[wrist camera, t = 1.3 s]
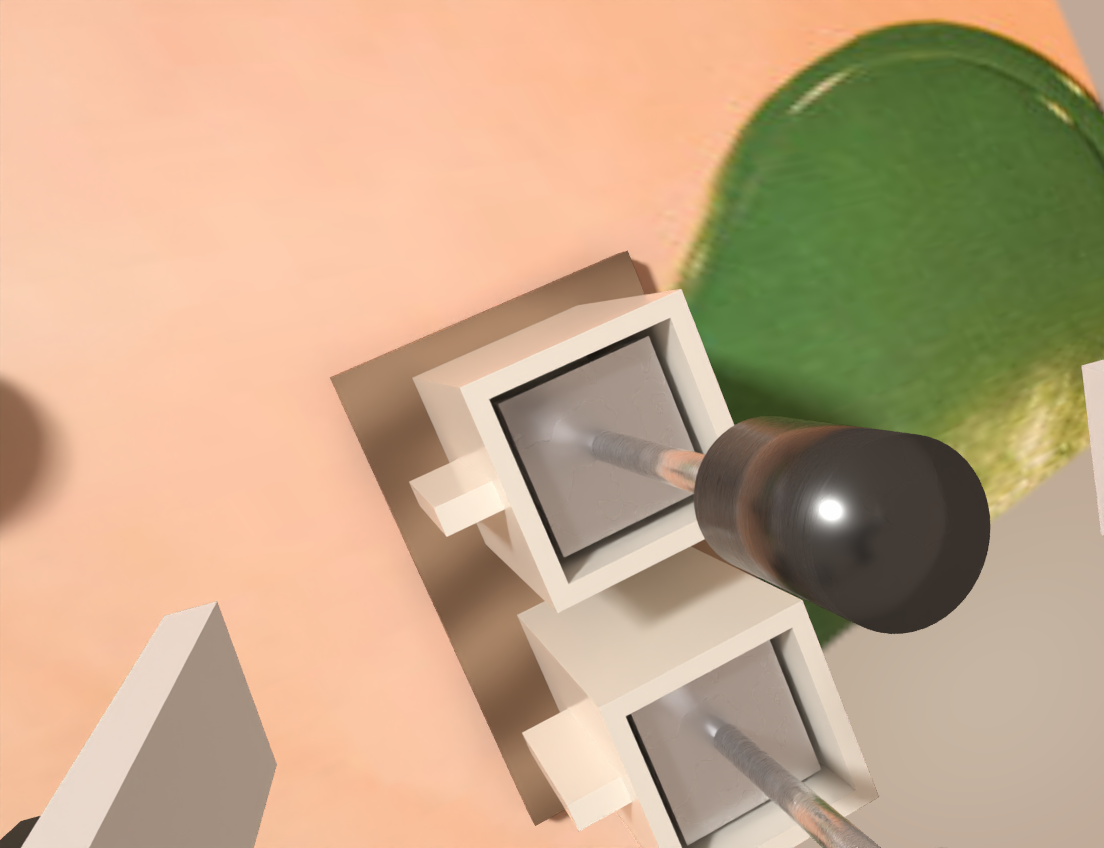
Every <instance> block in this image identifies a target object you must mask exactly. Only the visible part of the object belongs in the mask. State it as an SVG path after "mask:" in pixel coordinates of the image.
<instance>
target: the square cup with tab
mask: <svg viewBox="0 0 1104 848" xmlns="http://www.w3.org/2000/svg"><path fill="white" fill-rule="evenodd" d="M517 616H518V619H519V621H520V623H521V625H522V628H523V630H524V632H525V634H526V637H527V639H528V641H529V643H530V646H531V648H532V650H533V653H534V655H535V657H536V659H537V662H538V664H539V666H540V668H541V671H542V673H543V675H544V677H545V680H546V682H547V684H548V686H549V689H550V691H551V693H552V696H553V698H554V700H555V702H556V705H557V707H558V709H559V711H560V713H559V714H557V715H555V716H553V717H551V718H549V719H547V720H545V721H543V722H541V723H539V724H538V725H536V726H534V727H532V728H530V729H528V730H526V731H524V732H522V734H523V736H524V739H525V741H526V743H527V745H528V747H529V750H530V752H531V754H532V756H533V758H534V759H535V761H536V762H537V764H538V766H539V767H540V769H541V771H542V772H543V774H544V776H545V777H546V779H547V780H548V782H549V784H550V785H551V787H552V789H553V790H554V792H555V794H556V795H557V797H558V798H559V800H560V802H561V803H562V805H563V807H564V808H565V810H566V812H567V813H568V815H569V816H570V818H571V820H572V821H573V823H574V825H575V826H576V828H577V830H578V831H581V830H582V829H584V828H586V827H588V826H590V825H591V824H593V823H595V822H597V821H599V820H600V819H602V818H604V817H606V816H608V815H609V814H611V813H613V812H615V811H616V813H617V814H618V815H619V817H620V818H621V820H622V821H623V822H624V824H625V825H626V827H627V828H628V829H629V831H630V832H631V834H632V835H633V836H634V838H635V839H636V841H637V842H638V843H639V845H640V846H641V847H642V848H793V847H795V846H796V845H798V844H800V843H801V842H803V841H805V840H806V839H808V838H810V837H811V836H809V835H808V834H807V833H806V832H805V831H804V830H803V829H802V828H801V827H800V826H799V825H798V824H796V823H795V822H794V821H793V820H792V819H791V818H790V817H789V816H788V815H787V814H786V813H785V812H783V811H782V810H781V809H780V808H779V807H778V806H777V805H776V804H775V803H774V802H773V801H772V800H770V799H768V800H767V801H765V802H763V803H761V804H760V805H758V806H756V807H754V808H753V809H751V810H749V811H747V812H746V813H744V814H742V815H740V816H739V817H737V818H735V819H733V820H732V821H730V822H728V823H726V824H725V825H723V826H721V827H719V828H718V829H716V830H714V831H712V832H711V833H709V834H707V835H705V836H704V837H702V838H700V839H698V840H697V841H695V842H693V843H691V844H690V845H688V846H687V844H686V843H685V842H684V841H683V839H682V838H681V837H680V835H679V833H678V830H677V828H676V826H675V823H674V821H673V819H672V816H671V814H670V812H669V809H668V807H667V805H666V802H665V800H664V798H663V795H662V793H661V791H660V788H659V786H658V784H657V781H656V779H655V777H654V774H653V772H652V770H651V767H650V765H649V763H648V760H647V758H646V756H645V753H644V751H643V749H642V746H641V744H640V742H639V739H638V737H637V735H636V732H635V730H634V728H633V725H632V723H631V721H630V718H629V716H628V715H629V714H631V713H633V712H635V711H637V710H639V709H640V708H642V707H644V706H646V705H648V704H650V703H652V702H654V701H655V700H657V699H659V698H661V697H663V696H665V695H667V694H669V693H670V692H672V691H674V690H676V689H678V688H680V687H682V686H684V685H685V684H687V683H689V682H691V681H693V680H695V679H697V678H699V677H700V676H702V675H704V674H706V673H708V672H710V671H712V670H714V669H715V668H717V667H719V666H721V665H723V664H725V663H727V662H729V661H730V660H732V659H734V658H736V657H738V656H740V655H742V654H744V653H745V652H747V651H749V650H751V649H753V648H755V647H757V646H758V645H760V644H762V643H764V642H766V641H768V640H770V642H771V645H772V647H773V650H774V652H775V655H776V657H777V660H778V662H779V665H780V667H781V670H782V672H783V675H784V677H785V680H786V682H787V685H788V687H789V690H790V692H791V695H792V697H793V700H794V702H795V705H796V707H797V710H798V712H799V715H800V717H801V720H802V722H803V725H804V727H805V730H806V732H807V735H808V737H809V740H810V742H811V745H812V747H813V750H814V752H815V755H816V758H817V760H818V763H819V765H820V768H821V770H819V771H818V772H816V773H814V774H812V775H811V776H809V777H807V778H805V779H804V780H802V782H803V783H804V784H805V785H806V786H808V787H809V788H810V789H811V790H812V791H814V792H815V793H816V794H817V795H818V796H820V797H821V798H822V799H823V800H824V801H826V802H827V803H828V804H829V805H830V806H832V807H833V808H834V809H835V810H836V811H838V812H839V813H840V814H841V815H842V816H844V817H846V816H848V815H849V814H851V813H853V812H854V811H856V810H858V809H859V808H861V807H863V806H865V805H866V804H868V803H870V802H872V801H873V800H875V799H877V798H878V797H879V796H878V793H877V790H876V788H875V785H874V783H873V780H872V778H871V775H870V772H869V770H868V767H867V765H866V762H865V760H864V757H863V754H862V752H861V750H860V747H859V744H858V742H857V739H856V736H855V734H854V732H853V729H852V727H851V724H850V721H849V718H848V716H847V713H846V711H845V708H844V706H843V703H842V701H841V698H840V695H839V693H838V690H837V688H836V685H835V683H834V680H833V678H832V675H831V672H830V670H829V667H828V665H827V662H826V659H825V657H824V655H823V652H822V649H821V647H820V644H819V641H818V639H817V636H816V634H815V631H814V629H813V626H812V624H811V621H810V618H809V616H808V613H807V611H806V608H805V606H804V603H803V600H801V599H799V598H797V597H795V596H793V595H791V594H788V593H786V592H784V591H782V590H780V589H778V588H776V587H774V586H772V585H770V584H768V583H766V582H764V581H761V580H759V579H757V578H755V577H753V576H751V575H749V574H747V573H745V572H743V571H741V570H739V569H737V568H734V567H732V566H730V565H728V564H726V563H724V562H722V561H720V560H718V559H716V558H714V557H712V556H710V555H707V554H705V553H703V552H701V551H699V550H697V549H695V548H693V547H691V546H690V547H688V548H686V549H684V550H682V551H680V552H678V553H676V554H674V555H672V556H670V557H668V558H666V559H664V560H662V561H660V562H658V563H656V564H654V565H652V566H650V567H648V568H646V569H644V570H642V571H640V572H638V573H636V574H634V575H632V576H630V577H628V578H626V579H625V580H623V581H621V582H619V583H617V584H615V585H613V586H611V587H609V588H607V589H605V590H603V591H601V592H599V593H597V594H595V595H593V596H591V597H589V598H587V599H585V600H583V601H581V602H579V603H577V604H575V605H573V606H571V607H569V608H567V609H565V610H563V611H561V612H559V613H557V612H556V611H555V610H554V609H553V608H552V607H550V606H549V605H548V604H547V603H546V602H545V601H544V602H542V603H540V604H538V605H536V606H534V607H532V608H530V609H528V610H526V611H524V612H522V613H520V614H518V615H517Z"/></svg>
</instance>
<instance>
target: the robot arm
mask: <svg viewBox="0 0 1104 848" xmlns="http://www.w3.org/2000/svg"><path fill="white" fill-rule="evenodd" d="M1082 373H1083V381H1084V390H1085V399H1086V407H1087V416H1088V425H1089V433H1090V442H1091V451H1092V459H1093V467H1094V477H1095V484H1096V494H1097V503H1098V511H1099V519H1100V529H1101V534H1102V535H1103V536H1104V360H1101V361H1097V362H1093V363H1090V364H1086V365H1082ZM276 765H277V764H276V761H275V758H274V756H273V753H272V750H271V748H270V745H269V742H268V739H267V737H266V734H265V731H264V728H263V726H262V723H261V720H260V717H259V715H258V712H257V709H256V707H255V704H254V701H253V698H252V696H251V693H250V690H249V687H248V685H247V682H246V679H245V676H244V674H243V671H242V668H241V666H240V663H239V660H238V657H237V655H236V652H235V649H234V646H233V644H232V641H231V638H230V635H229V633H228V630H227V627H226V625H225V622H224V619H223V616H222V614H221V611H220V608H219V605H218V603H217V602H213V603H209V604H206V605H202V606H198V607H195V608H191V609H187V610H184V611H180V612H176V613H173V614H169V615H165V616H164V618H163V619H162V621H161V623H160V624H159V626H158V627H157V629H156V631H155V632H154V634H153V636H152V637H151V639H150V640H149V642H148V644H147V645H146V647H145V648H144V650H143V652H142V653H141V655H140V657H139V658H138V660H137V661H136V663H135V665H134V666H133V668H132V669H131V671H130V673H129V674H128V676H127V678H126V679H125V681H124V682H123V684H122V686H121V687H120V689H119V690H118V692H117V694H116V695H115V697H114V698H113V700H112V702H111V703H110V705H109V707H108V708H107V710H106V711H105V713H104V715H103V716H102V718H101V719H100V721H99V723H98V724H97V726H96V728H95V729H94V731H93V732H92V734H91V736H90V737H89V739H88V740H87V742H86V744H85V745H84V747H83V749H82V750H81V752H80V753H79V755H78V757H77V758H76V760H75V761H74V763H73V765H72V766H71V768H70V770H69V771H68V773H67V774H66V776H65V778H64V779H63V781H62V782H61V784H60V786H59V787H58V789H57V791H56V792H55V794H54V795H53V797H52V799H51V800H50V802H49V803H48V805H47V807H46V808H45V810H44V811H43V813H42V815H41V816H38V817H34V818H31V819H27V820H23V821H21V822H19V823H18V824H17V825H16V826H15V827H14V828H13V829H12V830H11V831H10V832H9V833H7V834H6V835H5V836H4V837H3V838H2V839H1V840H0V848H254V845H255V841H256V837H257V834H258V830H259V827H260V823H261V819H262V816H263V812H264V809H265V805H266V801H267V798H268V794H269V791H270V787H271V783H272V780H273V776H274V773H275V769H276Z"/></svg>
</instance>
